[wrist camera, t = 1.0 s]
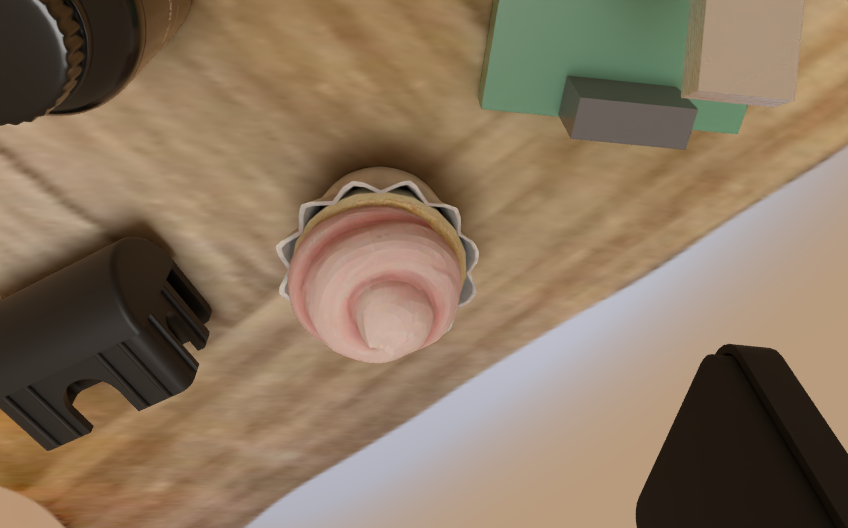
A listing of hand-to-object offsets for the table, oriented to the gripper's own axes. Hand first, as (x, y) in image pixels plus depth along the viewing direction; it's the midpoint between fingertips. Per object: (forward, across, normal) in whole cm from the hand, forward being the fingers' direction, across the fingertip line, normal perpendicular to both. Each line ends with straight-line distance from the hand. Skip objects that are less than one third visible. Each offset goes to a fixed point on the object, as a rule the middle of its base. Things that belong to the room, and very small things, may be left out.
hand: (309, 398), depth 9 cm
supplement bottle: (+27, +10, +2) cm, 29 cm away
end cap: (+27, +12, +19) cm, 35 cm away
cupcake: (+27, -2, +13) cm, 30 cm away
